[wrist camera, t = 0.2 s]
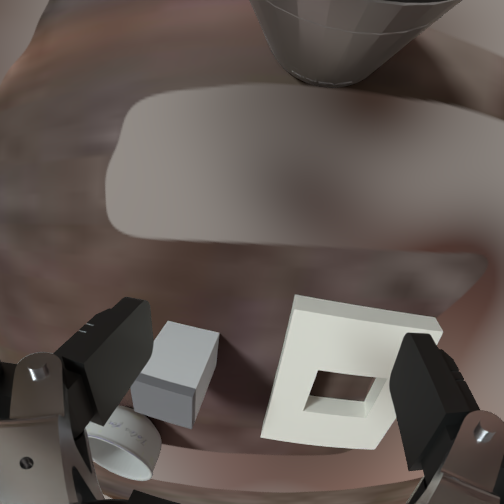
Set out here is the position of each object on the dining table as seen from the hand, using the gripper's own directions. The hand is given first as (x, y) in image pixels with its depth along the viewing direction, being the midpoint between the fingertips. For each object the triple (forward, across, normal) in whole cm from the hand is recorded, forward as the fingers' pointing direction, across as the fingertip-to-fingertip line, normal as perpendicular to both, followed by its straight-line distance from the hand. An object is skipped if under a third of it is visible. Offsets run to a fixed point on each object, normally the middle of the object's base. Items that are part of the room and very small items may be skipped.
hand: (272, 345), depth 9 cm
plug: (+18, +9, +14) cm, 24 cm away
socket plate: (+18, -7, +16) cm, 25 cm away
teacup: (+19, +20, +31) cm, 42 cm away
